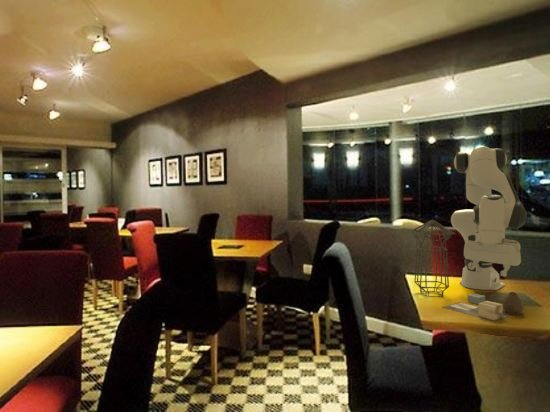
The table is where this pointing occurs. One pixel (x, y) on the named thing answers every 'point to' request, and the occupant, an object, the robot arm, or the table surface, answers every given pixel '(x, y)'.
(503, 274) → the robot arm
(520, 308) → the vase
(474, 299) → the top block
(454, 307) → the board
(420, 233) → the geometric lantern
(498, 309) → the block
